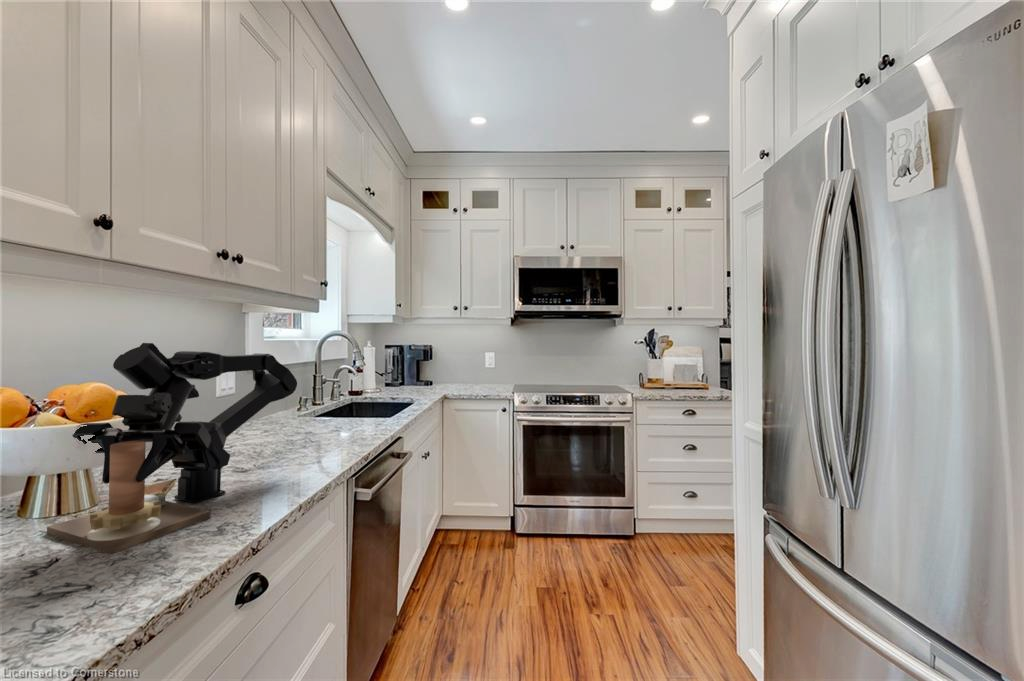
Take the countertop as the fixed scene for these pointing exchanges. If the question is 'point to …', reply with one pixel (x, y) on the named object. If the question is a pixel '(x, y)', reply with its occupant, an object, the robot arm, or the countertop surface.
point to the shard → (160, 487)
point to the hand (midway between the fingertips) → (121, 481)
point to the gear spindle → (125, 489)
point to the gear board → (129, 527)
